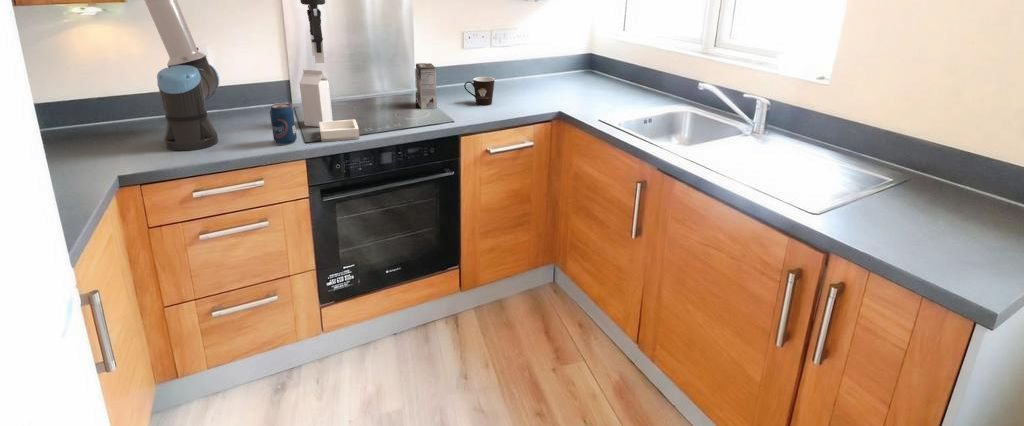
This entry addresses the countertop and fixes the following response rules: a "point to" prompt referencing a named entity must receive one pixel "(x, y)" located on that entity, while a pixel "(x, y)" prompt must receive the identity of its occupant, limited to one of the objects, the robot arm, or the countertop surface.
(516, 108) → the countertop surface
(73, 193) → the countertop surface
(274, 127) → the soda can
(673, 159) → the countertop surface
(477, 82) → the coffee mug
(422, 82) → the coffee box
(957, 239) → the countertop surface
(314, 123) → the milk carton
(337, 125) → the bin
